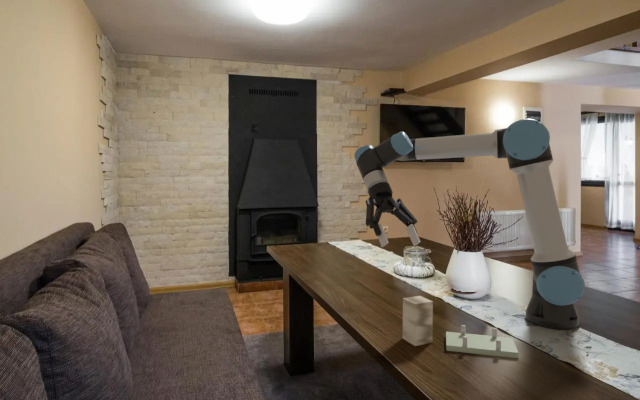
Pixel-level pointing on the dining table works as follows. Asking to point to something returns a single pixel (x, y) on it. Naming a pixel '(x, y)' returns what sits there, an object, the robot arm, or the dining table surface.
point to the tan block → (417, 320)
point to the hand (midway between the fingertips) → (401, 244)
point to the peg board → (481, 344)
